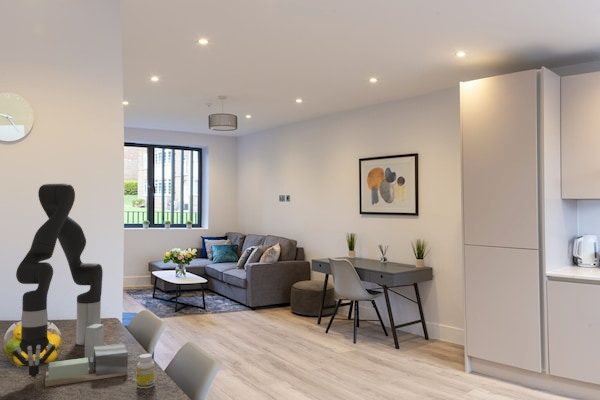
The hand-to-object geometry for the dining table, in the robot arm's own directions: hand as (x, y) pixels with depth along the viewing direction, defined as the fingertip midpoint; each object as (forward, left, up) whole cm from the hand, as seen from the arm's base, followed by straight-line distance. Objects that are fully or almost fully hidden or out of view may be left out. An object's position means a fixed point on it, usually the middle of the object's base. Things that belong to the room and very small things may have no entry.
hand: (34, 376), depth 156 cm
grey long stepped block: (0, +16, -2) cm, 16 cm away
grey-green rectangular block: (0, +11, -1) cm, 11 cm away
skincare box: (-19, +19, -2) cm, 27 cm away
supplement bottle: (+19, +32, -2) cm, 38 cm away
